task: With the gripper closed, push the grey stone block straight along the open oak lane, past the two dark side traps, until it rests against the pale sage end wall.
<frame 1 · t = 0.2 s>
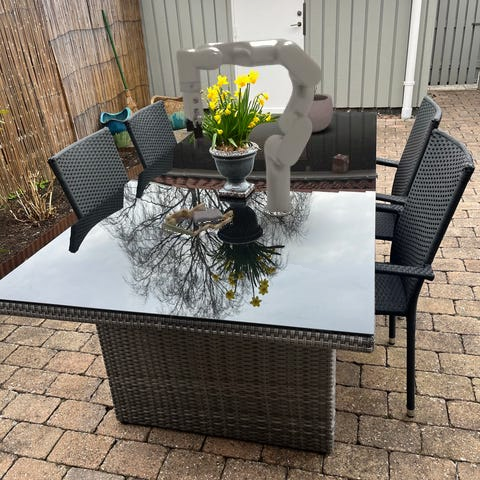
hand: (194, 134, 174), 37 cm above the table, tool pointing down, fingers open, 9 cm apart
plant pot: (312, 131, 298), on the table
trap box: (199, 224, 191), on the table
stone block: (207, 220, 195), on the table
box: (340, 171, 236), on the table
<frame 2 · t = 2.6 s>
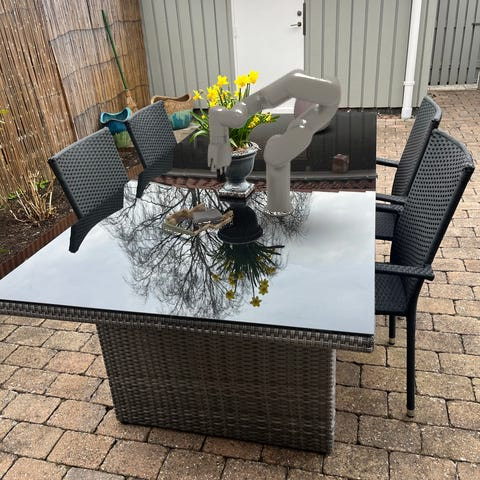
hand: (221, 181, 197), 12 cm above the table, tool pointing down, fingers closed
nothing on the table moved.
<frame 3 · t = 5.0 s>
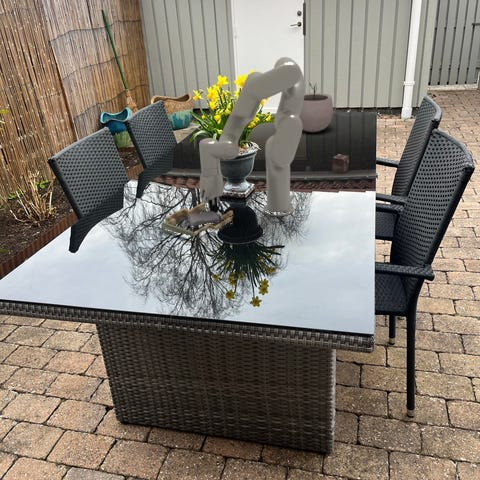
hand: (214, 212, 197), 1 cm above the table, tool pointing down, fingers closed
stone block: (203, 223, 193), on the table, touching gripper
everything else where it was.
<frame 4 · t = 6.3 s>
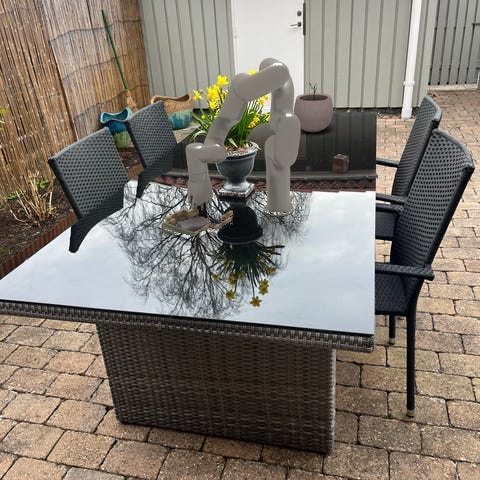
hand: (203, 217, 193), 1 cm above the table, tool pointing down, fingers closed
stone block: (193, 229, 188), on the table, touching gripper, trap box
everything else where it was.
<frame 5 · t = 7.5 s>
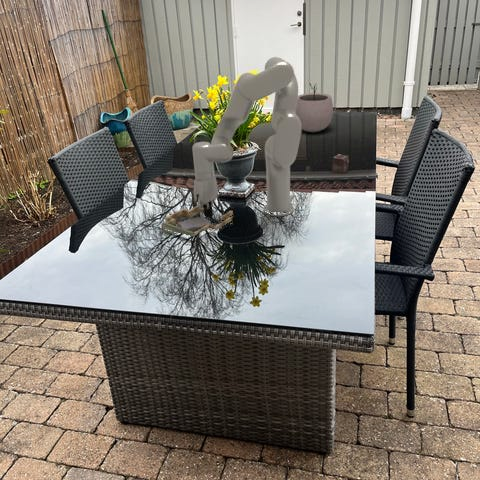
hand: (208, 216, 195), 1 cm above the table, tool pointing down, fingers closed
stone block: (193, 229, 188), on the table
everything else where it was.
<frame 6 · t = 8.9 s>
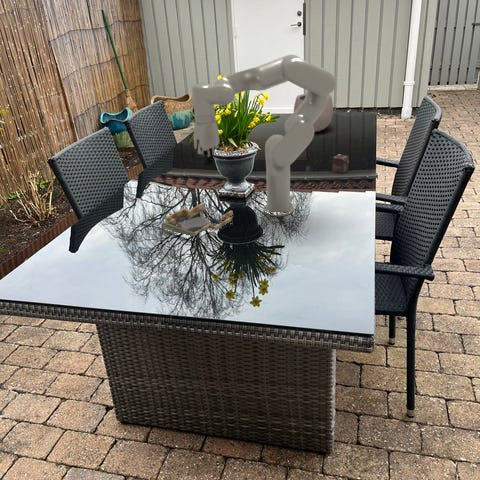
hand: (209, 165, 186), 22 cm above the table, tool pointing down, fingers closed
nothing on the table moved.
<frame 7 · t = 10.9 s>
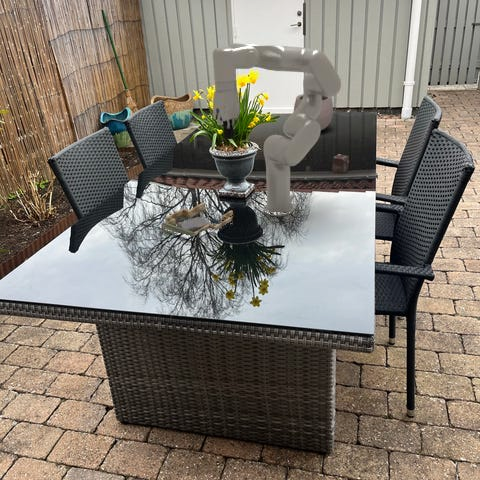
hand: (228, 138, 173), 35 cm above the table, tool pointing down, fingers closed
nothing on the table moved.
at the end: stone block inside the target area on the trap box (1.9 cm from its centre), point -0.6 cm above the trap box's base; stone block moved 9.8 cm from its start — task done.
